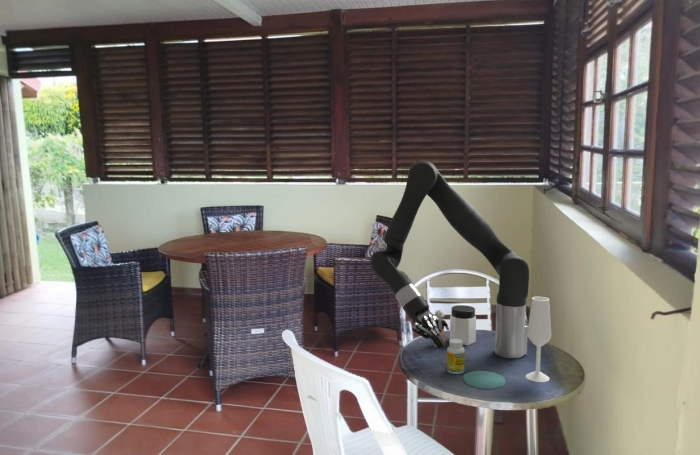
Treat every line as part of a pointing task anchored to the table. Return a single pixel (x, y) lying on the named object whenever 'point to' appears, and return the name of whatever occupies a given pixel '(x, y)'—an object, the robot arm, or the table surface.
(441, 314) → the grandmother figurine
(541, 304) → the champagne flute
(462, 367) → the supplement bottle
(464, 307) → the jar
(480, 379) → the mat
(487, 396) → the table surface
